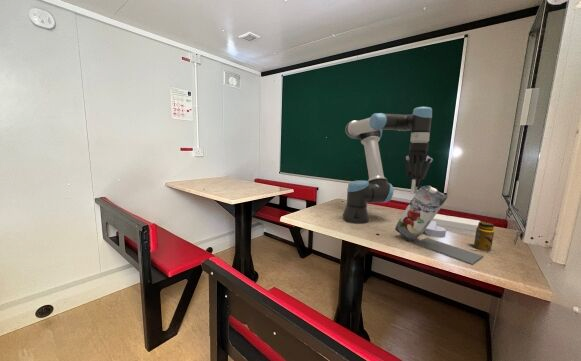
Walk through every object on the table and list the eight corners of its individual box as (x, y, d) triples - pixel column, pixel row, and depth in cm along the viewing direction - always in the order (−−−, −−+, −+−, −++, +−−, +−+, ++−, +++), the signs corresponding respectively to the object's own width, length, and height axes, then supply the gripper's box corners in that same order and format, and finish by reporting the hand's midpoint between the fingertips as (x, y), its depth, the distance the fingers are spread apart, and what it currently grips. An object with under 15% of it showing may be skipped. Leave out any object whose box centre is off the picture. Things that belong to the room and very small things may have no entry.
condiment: (494, 253, 100) (499, 226, 98) (471, 249, 103) (475, 223, 101) (487, 246, 106) (492, 221, 105) (465, 243, 109) (469, 219, 108)
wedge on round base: (415, 232, 122) (444, 238, 114) (416, 220, 121) (446, 225, 113) (417, 228, 129) (445, 233, 121) (418, 216, 128) (447, 221, 120)
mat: (414, 244, 106) (414, 242, 106) (427, 238, 113) (427, 237, 113) (472, 265, 89) (472, 263, 89) (482, 257, 96) (483, 255, 96)
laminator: (478, 231, 128) (480, 220, 127) (482, 238, 117) (483, 226, 116) (409, 219, 146) (410, 209, 145) (407, 224, 135) (408, 214, 134)
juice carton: (401, 225, 120) (429, 181, 108) (419, 239, 113) (452, 194, 101) (391, 228, 115) (420, 182, 102) (410, 243, 108) (443, 196, 95)
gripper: (401, 142, 109) (396, 191, 112) (430, 142, 98) (424, 196, 102) (409, 142, 113) (404, 190, 117) (438, 142, 103) (432, 195, 106)
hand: (413, 193), depth 109 cm, fingers closed
